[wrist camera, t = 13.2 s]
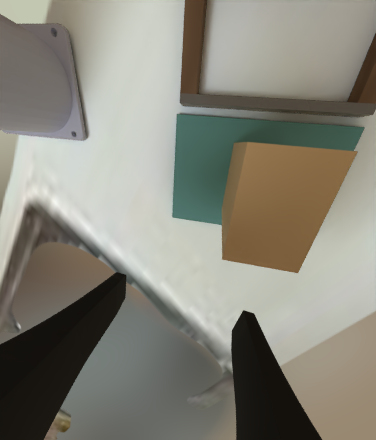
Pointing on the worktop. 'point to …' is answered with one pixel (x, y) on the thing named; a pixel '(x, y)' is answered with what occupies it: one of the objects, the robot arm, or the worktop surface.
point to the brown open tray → (189, 96)
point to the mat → (222, 151)
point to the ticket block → (278, 201)
